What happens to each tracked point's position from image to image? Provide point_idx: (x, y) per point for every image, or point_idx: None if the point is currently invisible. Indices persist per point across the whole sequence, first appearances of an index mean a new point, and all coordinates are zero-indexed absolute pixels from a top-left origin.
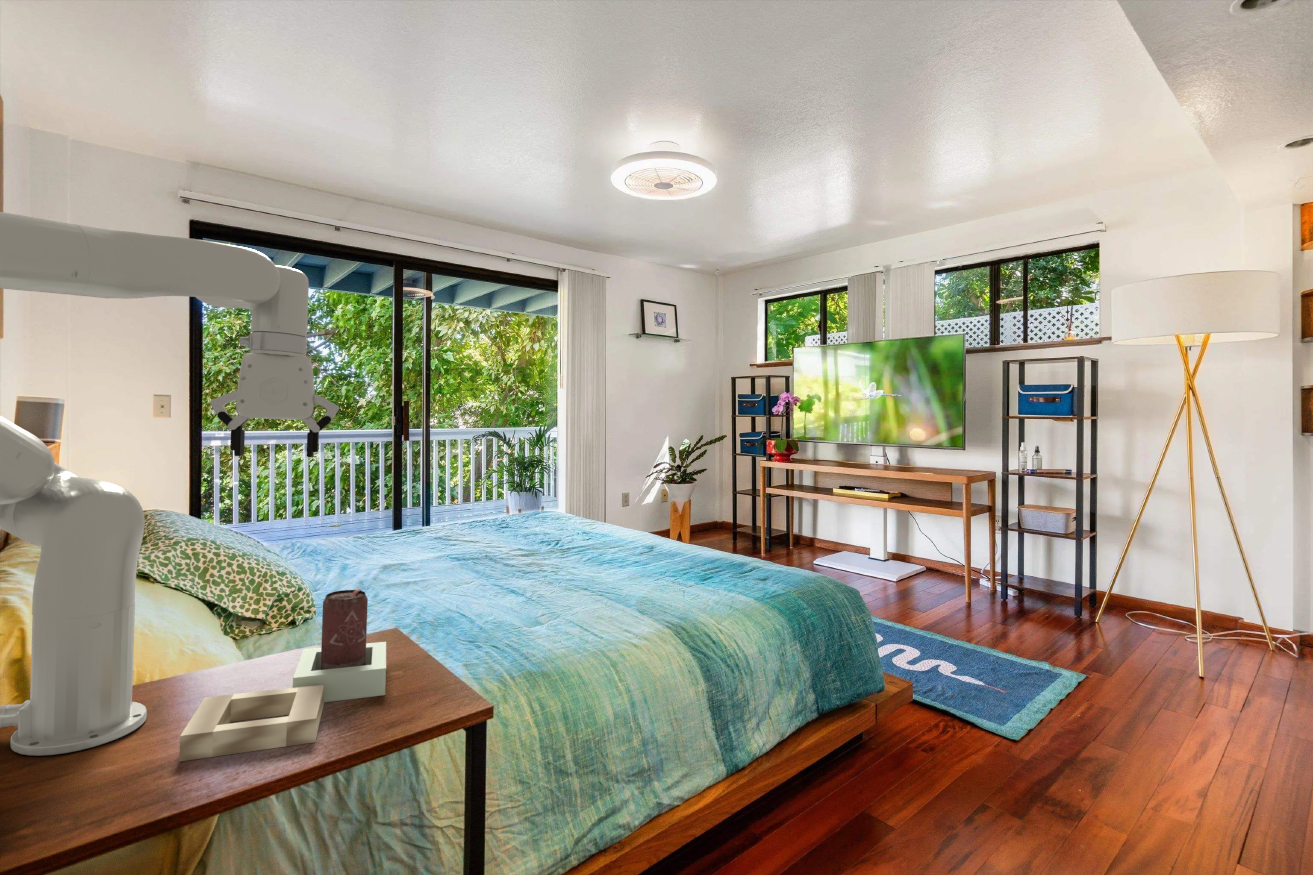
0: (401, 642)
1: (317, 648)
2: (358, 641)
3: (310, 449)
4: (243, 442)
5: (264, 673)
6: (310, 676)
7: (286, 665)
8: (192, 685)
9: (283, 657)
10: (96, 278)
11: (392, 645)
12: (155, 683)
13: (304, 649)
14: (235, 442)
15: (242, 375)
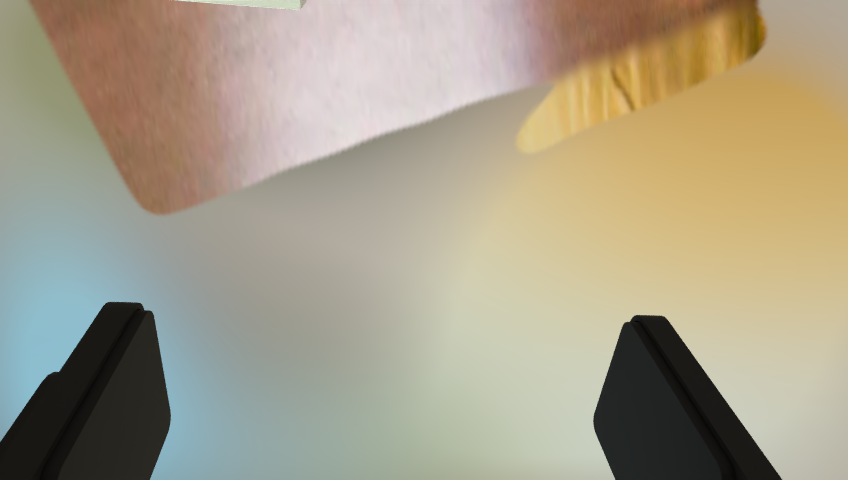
0: (109, 141)
1: (267, 2)
2: None
3: (91, 337)
4: (633, 475)
5: (384, 38)
6: None
7: (346, 73)
8: (510, 19)
9: (357, 127)
10: None
11: (127, 127)
12: (572, 58)
13: (297, 5)
14: (707, 379)
15: None
